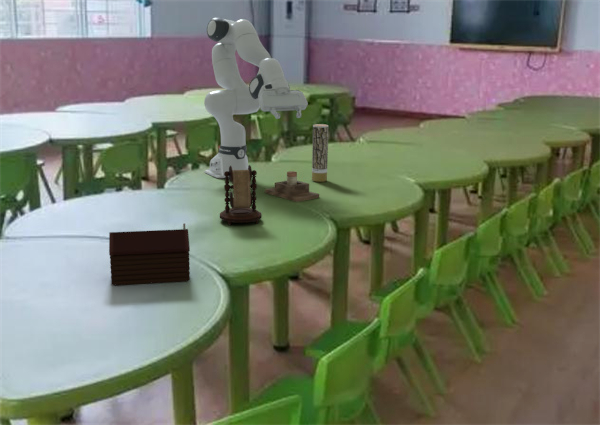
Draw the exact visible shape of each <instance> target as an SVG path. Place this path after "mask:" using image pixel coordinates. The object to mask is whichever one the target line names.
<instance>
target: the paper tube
mask: <svg viewBox="0 0 600 425" xmlns="http://www.w3.org/2000/svg"><path fill="white" fill-rule="evenodd" d="M328 150H329V125H328V124H324V123H319V124H318V123H317V124H312V150H311V151H312V154H311V155H312V158H311V181H312V182H315V183H324V182H325V183H326V181H327V180H328V160H329V159H328V158H329V157H328V156H329V155H328V153H329V151H328Z"/></svg>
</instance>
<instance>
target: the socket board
mask: <svg viewBox="0 0 600 425" xmlns="http://www.w3.org/2000/svg"><path fill="white" fill-rule="evenodd" d="M264 193H265V194H267V195H268V194H269V195H271V196H275V197H279V198H282V199H284V200H285V199H286V200H288V201H293V202H295V203H296V202H297V203H299V202H303V201H309V200H314V199H319V198H320V193H316V192H313V191H310V183H308V182H303V181H300V180H297V184H296V185H288V184H287V180H283V181H282V180H281V181H278V182H277V181H276V182H274V187H270V188H264Z"/></svg>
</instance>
